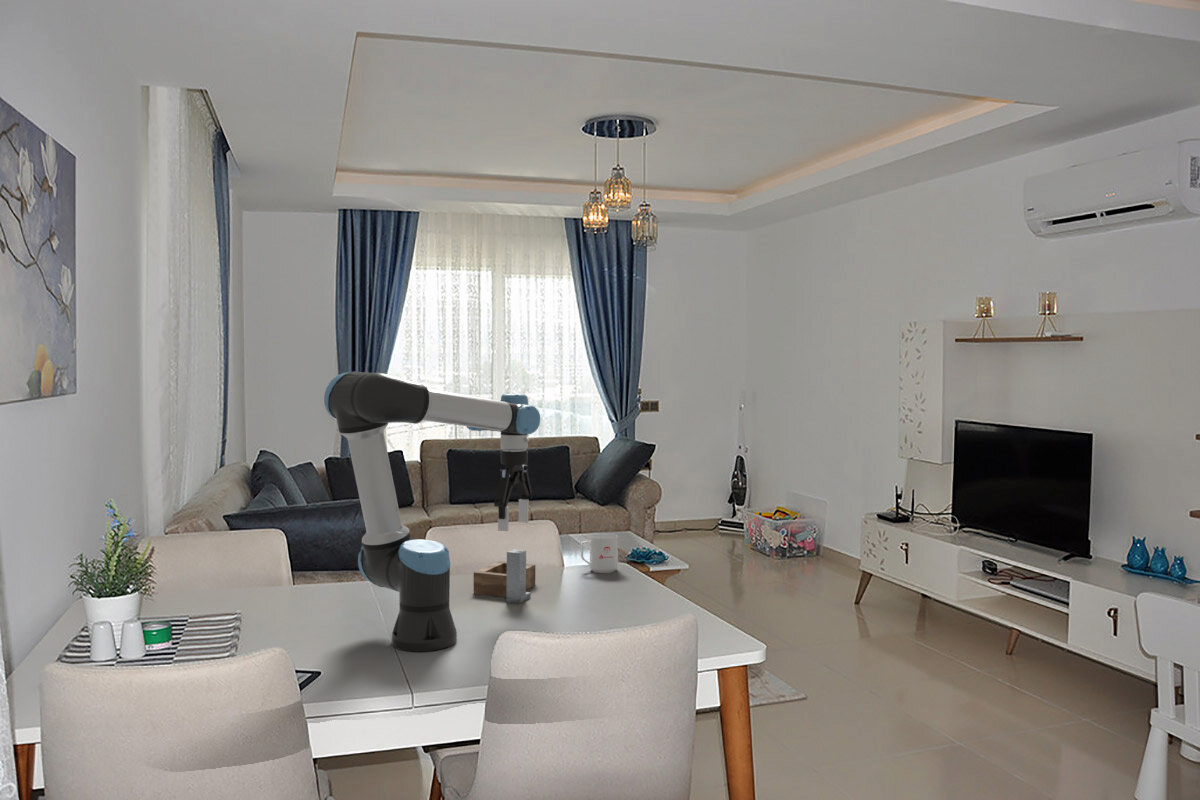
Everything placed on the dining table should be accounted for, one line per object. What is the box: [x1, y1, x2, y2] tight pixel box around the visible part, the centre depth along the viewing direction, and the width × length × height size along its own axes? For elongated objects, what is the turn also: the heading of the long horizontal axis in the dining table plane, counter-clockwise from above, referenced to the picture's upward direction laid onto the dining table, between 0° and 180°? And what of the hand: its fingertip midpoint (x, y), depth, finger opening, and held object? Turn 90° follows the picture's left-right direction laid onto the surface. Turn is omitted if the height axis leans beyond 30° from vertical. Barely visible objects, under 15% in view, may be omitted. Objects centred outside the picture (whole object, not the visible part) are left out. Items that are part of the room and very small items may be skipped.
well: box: [473, 560, 536, 598], centre depth 269 cm, size 16×12×6 cm
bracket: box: [505, 548, 531, 605], centre depth 256 cm, size 7×4×14 cm, turn 159°
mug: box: [580, 532, 619, 574], centre depth 292 cm, size 12×9×11 cm
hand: (513, 526), depth 255 cm, fingers open, 13 cm apart
